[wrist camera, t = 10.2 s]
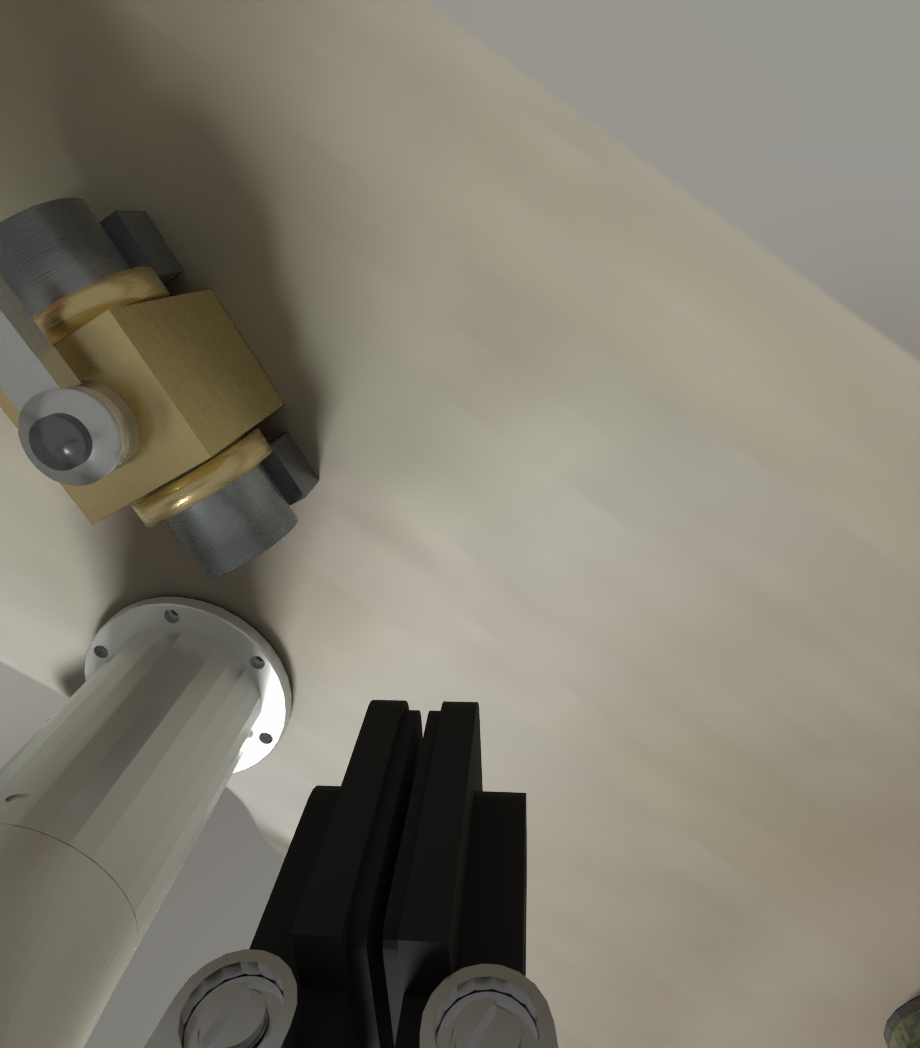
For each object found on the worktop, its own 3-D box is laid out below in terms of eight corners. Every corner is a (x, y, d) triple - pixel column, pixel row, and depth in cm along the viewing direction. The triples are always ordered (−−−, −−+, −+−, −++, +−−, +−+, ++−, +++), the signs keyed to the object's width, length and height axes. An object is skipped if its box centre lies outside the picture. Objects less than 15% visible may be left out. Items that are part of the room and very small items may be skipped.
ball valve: (238, 533, 39) (160, 615, 31) (49, 264, 35) (-102, 278, 26) (336, 481, 38) (281, 554, 29) (151, 191, 33) (23, 181, 25)
